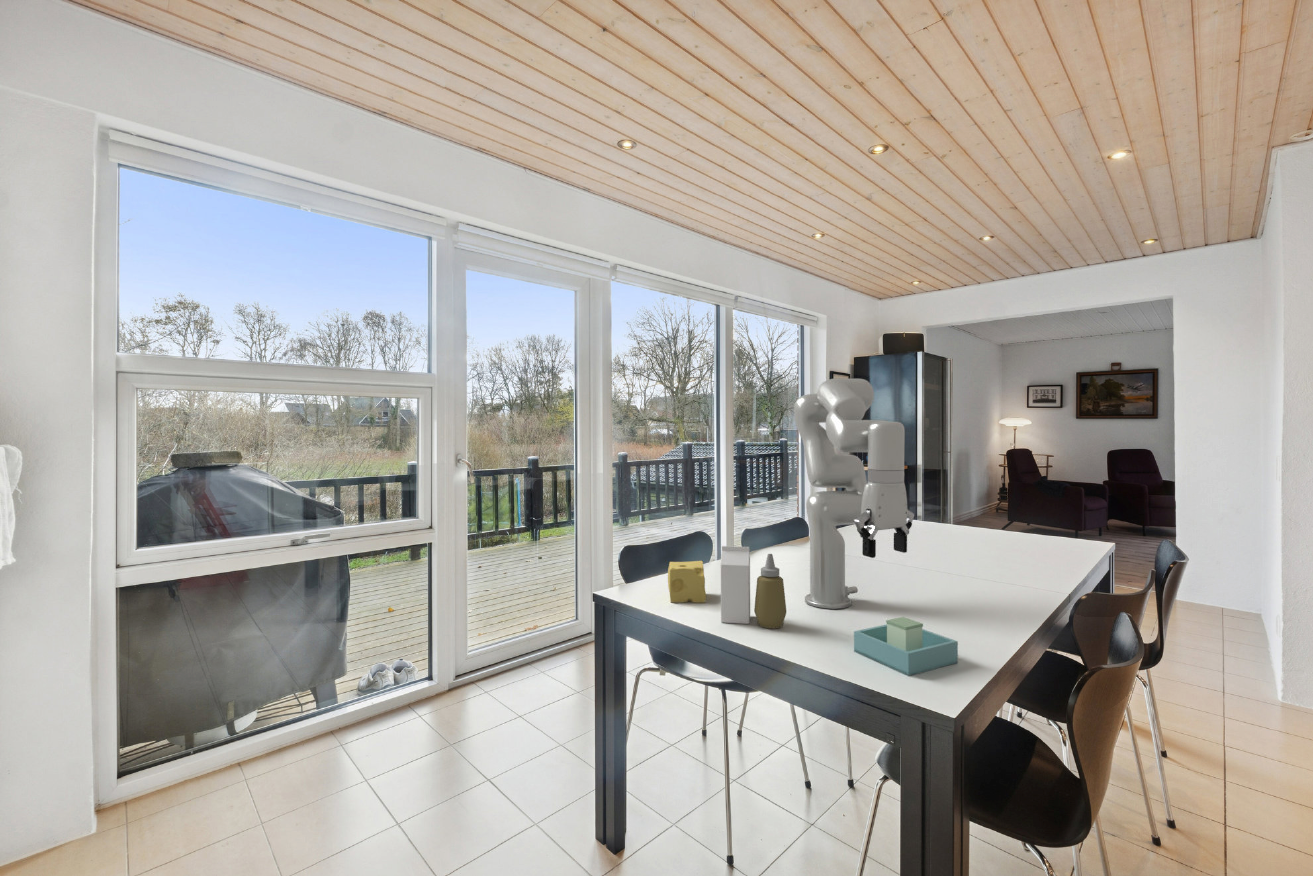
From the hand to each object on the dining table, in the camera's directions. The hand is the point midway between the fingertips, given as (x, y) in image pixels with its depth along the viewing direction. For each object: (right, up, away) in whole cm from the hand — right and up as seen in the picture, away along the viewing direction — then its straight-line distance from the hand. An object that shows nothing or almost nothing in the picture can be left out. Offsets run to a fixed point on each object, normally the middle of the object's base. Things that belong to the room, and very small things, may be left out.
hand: (884, 553), depth 131 cm
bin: (+3, -22, -4) cm, 22 cm away
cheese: (-42, -22, +42) cm, 63 cm away
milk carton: (-30, -22, +22) cm, 43 cm away
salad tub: (+3, -21, -4) cm, 21 cm away
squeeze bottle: (-22, -22, +17) cm, 35 cm away
